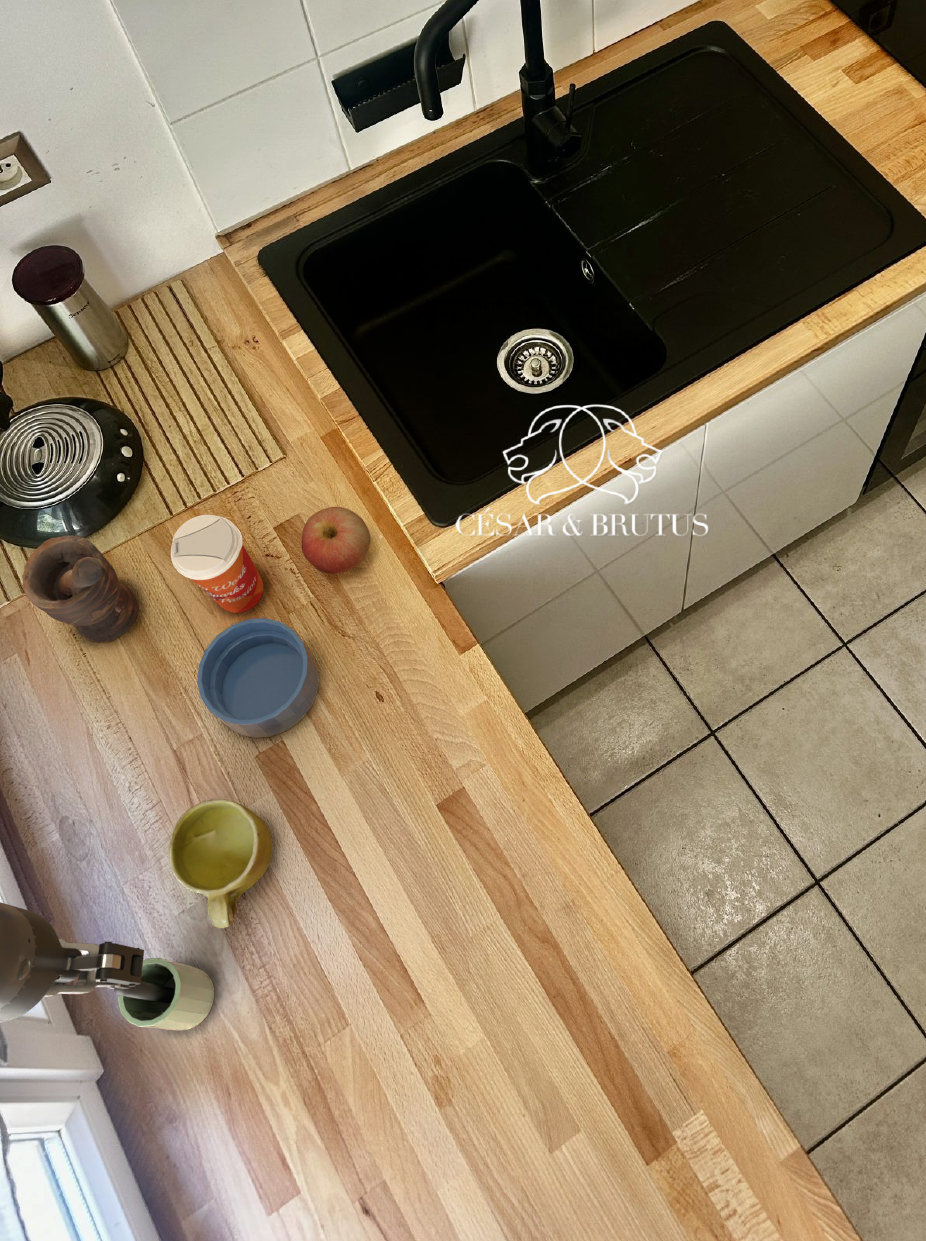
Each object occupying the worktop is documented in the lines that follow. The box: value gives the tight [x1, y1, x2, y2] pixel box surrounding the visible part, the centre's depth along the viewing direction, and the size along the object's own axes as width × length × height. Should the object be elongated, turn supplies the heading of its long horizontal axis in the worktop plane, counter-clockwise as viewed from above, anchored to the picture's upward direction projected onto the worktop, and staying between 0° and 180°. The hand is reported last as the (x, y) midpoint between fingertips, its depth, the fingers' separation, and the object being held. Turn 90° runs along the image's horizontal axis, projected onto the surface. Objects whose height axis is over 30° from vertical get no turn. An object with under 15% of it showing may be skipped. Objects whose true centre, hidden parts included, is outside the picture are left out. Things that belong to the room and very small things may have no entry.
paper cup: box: [170, 514, 264, 614], centre depth 130 cm, size 8×8×14 cm
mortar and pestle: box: [21, 535, 139, 643], centre depth 127 cm, size 12×9×20 cm
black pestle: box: [113, 978, 176, 1013], centre depth 108 cm, size 4×4×17 cm
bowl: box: [196, 617, 320, 739], centre depth 128 cm, size 12×12×6 cm
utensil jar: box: [117, 957, 215, 1032], centre depth 111 cm, size 6×6×10 cm
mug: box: [167, 798, 273, 929], centre depth 118 cm, size 12×10×10 cm
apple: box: [301, 506, 371, 575], centre depth 135 cm, size 8×8×8 cm
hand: (77, 978), depth 93 cm, fingers open, 8 cm apart
